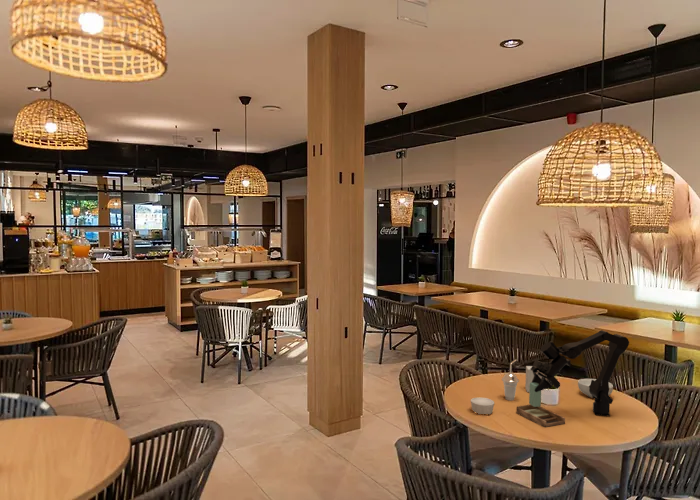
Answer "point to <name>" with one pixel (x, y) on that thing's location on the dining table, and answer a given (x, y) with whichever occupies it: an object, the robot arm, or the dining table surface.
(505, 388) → the cup with straw
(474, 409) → the ramekin
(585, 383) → the cereal bowl
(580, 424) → the dining table surface
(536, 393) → the block
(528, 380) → the supplement box
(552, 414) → the tray
